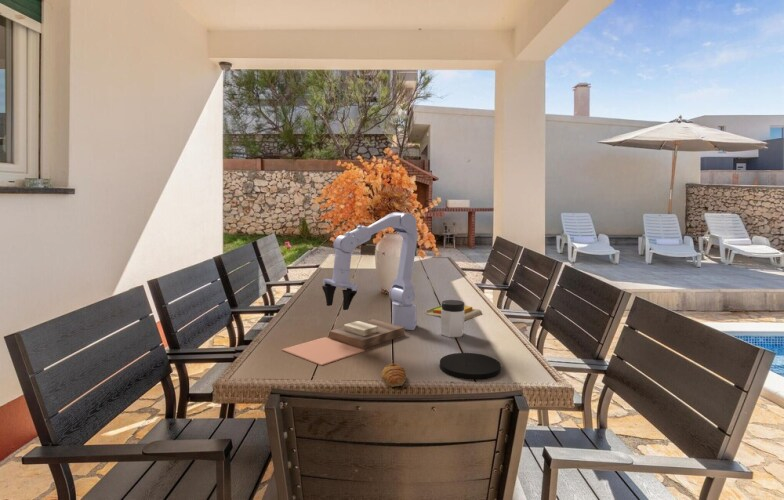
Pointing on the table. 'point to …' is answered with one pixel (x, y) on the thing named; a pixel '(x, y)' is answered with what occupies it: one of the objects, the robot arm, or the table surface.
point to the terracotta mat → (323, 351)
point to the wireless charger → (470, 366)
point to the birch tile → (360, 328)
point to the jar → (452, 318)
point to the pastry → (394, 375)
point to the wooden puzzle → (468, 312)
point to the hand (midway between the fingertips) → (337, 307)
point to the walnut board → (384, 334)
